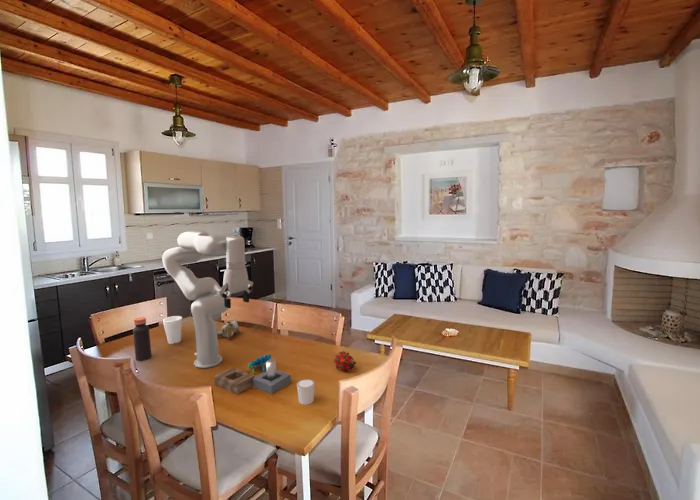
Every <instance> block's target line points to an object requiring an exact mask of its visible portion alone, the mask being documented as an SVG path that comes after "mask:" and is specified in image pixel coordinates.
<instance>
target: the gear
mask: <svg viewBox="0 0 700 500" xmlns="http://www.w3.org/2000/svg"><path fill="white" fill-rule="evenodd" d="M268 360H272V355H271V354H265V355H264V356H263V355H260V357H259V358H258V357H257V358H255V360H252V361H251V362H250V363H248V364H247V368H248V369H249V368H250V370H251V372H252V375H254V374H256V372H255V369H257V368H260V367H261V369H262V371H263V372H266V367H265V366H264V365H266V361H268Z"/></svg>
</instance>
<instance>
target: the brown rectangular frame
mask: <svg viewBox="0 0 700 500" xmlns="http://www.w3.org/2000/svg"><path fill="white" fill-rule="evenodd" d="M253 378H255V375H254V374H251V373H248V372H245V371H243V370H240V369H237V368H235V367H230V368H229V369H226V370H223V371H222V372H220V373H217V374H215V375H214V386H217V387H220V388H222V389H224V390H226V391H227V392H228V391H229V392H230V393H233V394H235V395H239V394H241V393H243V392H244V391H247V390H248V389H250V388H251V387H253V382H252V379H253Z"/></svg>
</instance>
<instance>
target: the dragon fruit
mask: <svg viewBox="0 0 700 500" xmlns="http://www.w3.org/2000/svg"><path fill="white" fill-rule="evenodd" d="M333 363H335V367H336V368H335V369H337V370H339V369H340V370H341V371H342V372H343V373H349V371H353V370H354V368H355V367H354V366H355V365H356V364H357V361H355V360H354V357H353V356H352V355H350V352H346V351H345V350H342V351H339V352H337V354H336V355H335V358H333ZM348 370H349V371H348Z"/></svg>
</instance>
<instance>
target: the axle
mask: <svg viewBox="0 0 700 500" xmlns="http://www.w3.org/2000/svg"><path fill="white" fill-rule="evenodd" d="M265 370H266V371H265V372H266V375H267V380H269V381H271V382H272V381H273V380H275V379H277V377H276V370H277V361H276V359H269V360H268V361H266V363H265Z"/></svg>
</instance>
